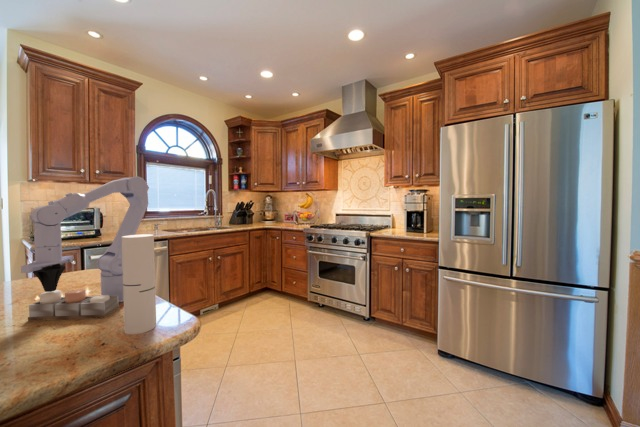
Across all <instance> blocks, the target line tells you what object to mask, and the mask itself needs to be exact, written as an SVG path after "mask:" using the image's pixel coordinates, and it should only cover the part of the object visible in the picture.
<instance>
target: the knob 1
mask: <svg viewBox="0 0 640 427" xmlns="http://www.w3.org/2000/svg"><path fill="white" fill-rule="evenodd" d="M61 297H62V290H60V289H56V290H55V291H52V292H45V291H43V292H41V293H39V301H40V304H53V303H56V302H58V301H60V300H61Z"/></svg>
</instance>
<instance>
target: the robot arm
mask: <svg viewBox="0 0 640 427" xmlns="http://www.w3.org/2000/svg"><path fill="white" fill-rule="evenodd" d="M149 189H150V187H149V185H148V183H147V181H146V180H145V179H144V178H143V177H141V176H132V177H131V176H130V177H121V178H119V179H113V180H112V181H109V182H105V184H104V183H103V184H102V185H100V186H97V187H95V188H93V189H90V190H88V191H87V192H84V193H79V192H74V193H72V192H68V193H66V194H65V196H63V197H62V198H59V199H57V200H55V201H54V200H50V201H48V202H47V204H48V205H40V206H37V207H35V208H33V210H32V211H31V213H30V215H29V219H30V220H31V222H32V223H34V224H33V226H34V227H33V229H34V231H33V237H34V238H33V239H34V260H32V262H30V263H28V264H25V265H21V266H20V273H21V274H31V273H33V275H35V276H36V277H37V279H38V281H39V282H40V283H41V286H42V287H43V290H44V291H43V292H52V291H55V290H57V287H58V285H59V281H60V278H61V276H62V274H63V273H64V271H65V270H66V265H64V264H67V263H73V262H74V255H65V256H63V245H62V244H63V243H62V229H61V228H62V226H61V224H62V222H63V221H64V219H67V218H70V217H72V216H74V215H76V214H78V213H80V212H83V211H84V210H86V209H88V208H89V206H90V203H92V202H95V201H97V200H100V199H102V198H104V197H107V196H109V195H112V194H114V193H115V194H116V193H120V194H121V196H123V197H124V198H126V200H127V202H128V203H129V207H128V209H127V211H126V213H125V215H124V217H123V218H122V219H123V220H122V222H121V224H120V226H119V227H118V228H119V229H118V230H117V233H116V235H115V236H114V239H113V240H112V243H111V244H110V245H109V246H108V247H107V248H106V249H105V251H104V253H103V254H101V256H99V257H98V259H97V261H96V265H97V268H98V269H99V270H100V271H101V272H100V294H101V295H109V296H118V303H122V302H123V303H124V297H123V266H122V236H128V235H137V234H136V233H137V232H138V229H139V228H140V224H141V222H142V220H143V218H144V216H145V213H146V210H147V209H148V207H149V196H148V192H149ZM62 264H63V265H62Z"/></svg>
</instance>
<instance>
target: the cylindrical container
mask: <svg viewBox="0 0 640 427" xmlns="http://www.w3.org/2000/svg"><path fill="white" fill-rule="evenodd" d="M122 266H123V297H124V301H123V320H124V322H123V323H124V324H123V325H124V326H123V327H124V333H125V334H126V335H140V334H142V333H146V332H149V331H151V330H154V328H156V327H157V309H156V308H157V307H156V306H157V304H156V300H157V299H156V298H157V297H156V270H155V268H156V265H155V235H154V234H152V233H151V234H148V233H145V234H142V233H141V234H135V235H128V236H122Z"/></svg>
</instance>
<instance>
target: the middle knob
mask: <svg viewBox="0 0 640 427" xmlns="http://www.w3.org/2000/svg"><path fill="white" fill-rule="evenodd" d="M86 294H87V293H86V289H74V290H70V291H66V292H65V293H64V297H65V303H79V302H81V301H84V300H86V296H87V295H86Z"/></svg>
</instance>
